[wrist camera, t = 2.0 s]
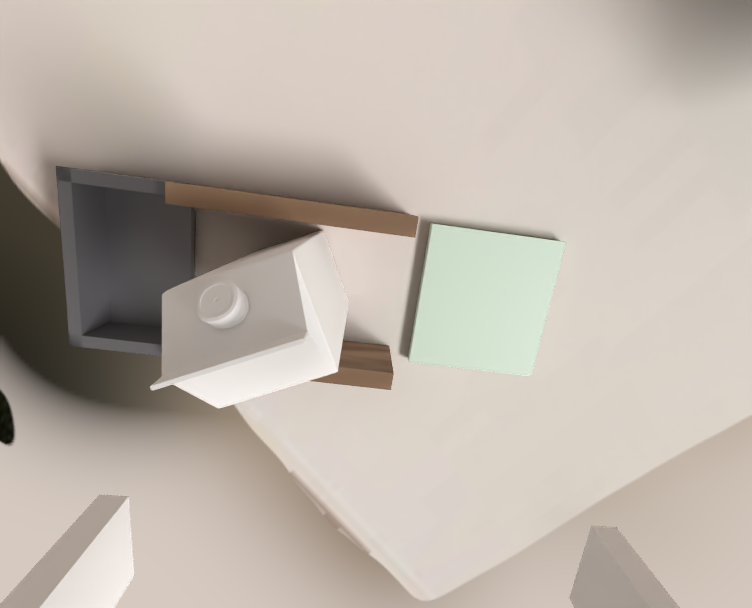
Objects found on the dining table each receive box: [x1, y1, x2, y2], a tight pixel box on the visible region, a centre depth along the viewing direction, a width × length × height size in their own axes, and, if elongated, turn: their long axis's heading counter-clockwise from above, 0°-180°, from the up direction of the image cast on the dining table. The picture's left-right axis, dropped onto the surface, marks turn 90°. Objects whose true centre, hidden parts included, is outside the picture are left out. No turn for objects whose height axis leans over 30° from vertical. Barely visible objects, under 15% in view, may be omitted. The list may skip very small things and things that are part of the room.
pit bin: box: [56, 166, 195, 356], centre depth 31 cm, size 14×8×4 cm, turn 172°
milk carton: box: [150, 230, 349, 408], centre depth 25 cm, size 7×7×19 cm
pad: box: [408, 223, 566, 376], centre depth 35 cm, size 13×12×1 cm
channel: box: [165, 182, 418, 390], centre depth 32 cm, size 14×18×6 cm
